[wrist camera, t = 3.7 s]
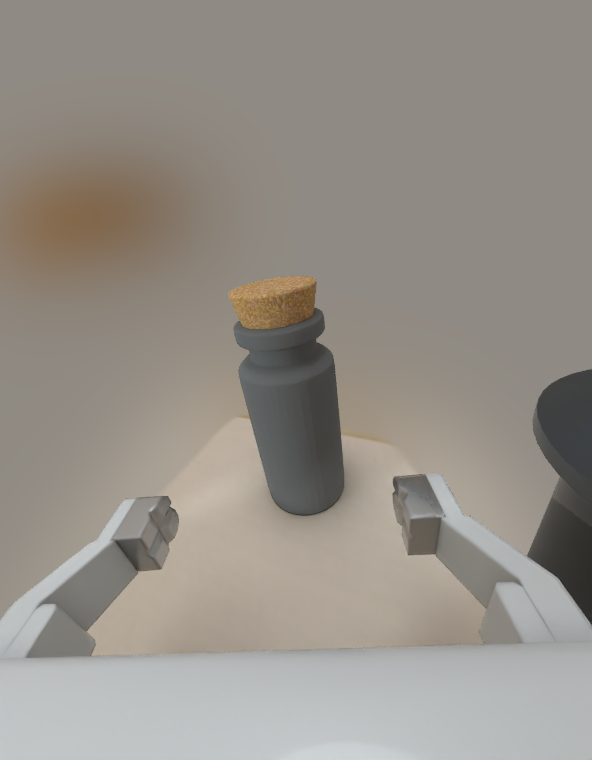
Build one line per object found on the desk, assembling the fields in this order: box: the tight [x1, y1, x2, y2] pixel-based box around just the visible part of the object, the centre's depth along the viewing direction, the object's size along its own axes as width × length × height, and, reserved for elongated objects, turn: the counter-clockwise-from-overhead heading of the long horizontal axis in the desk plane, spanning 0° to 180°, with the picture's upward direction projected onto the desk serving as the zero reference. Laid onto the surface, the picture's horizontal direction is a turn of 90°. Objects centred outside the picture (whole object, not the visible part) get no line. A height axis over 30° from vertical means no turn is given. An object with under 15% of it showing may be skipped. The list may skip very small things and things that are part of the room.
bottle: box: [228, 276, 344, 515], centre depth 19 cm, size 6×6×15 cm
